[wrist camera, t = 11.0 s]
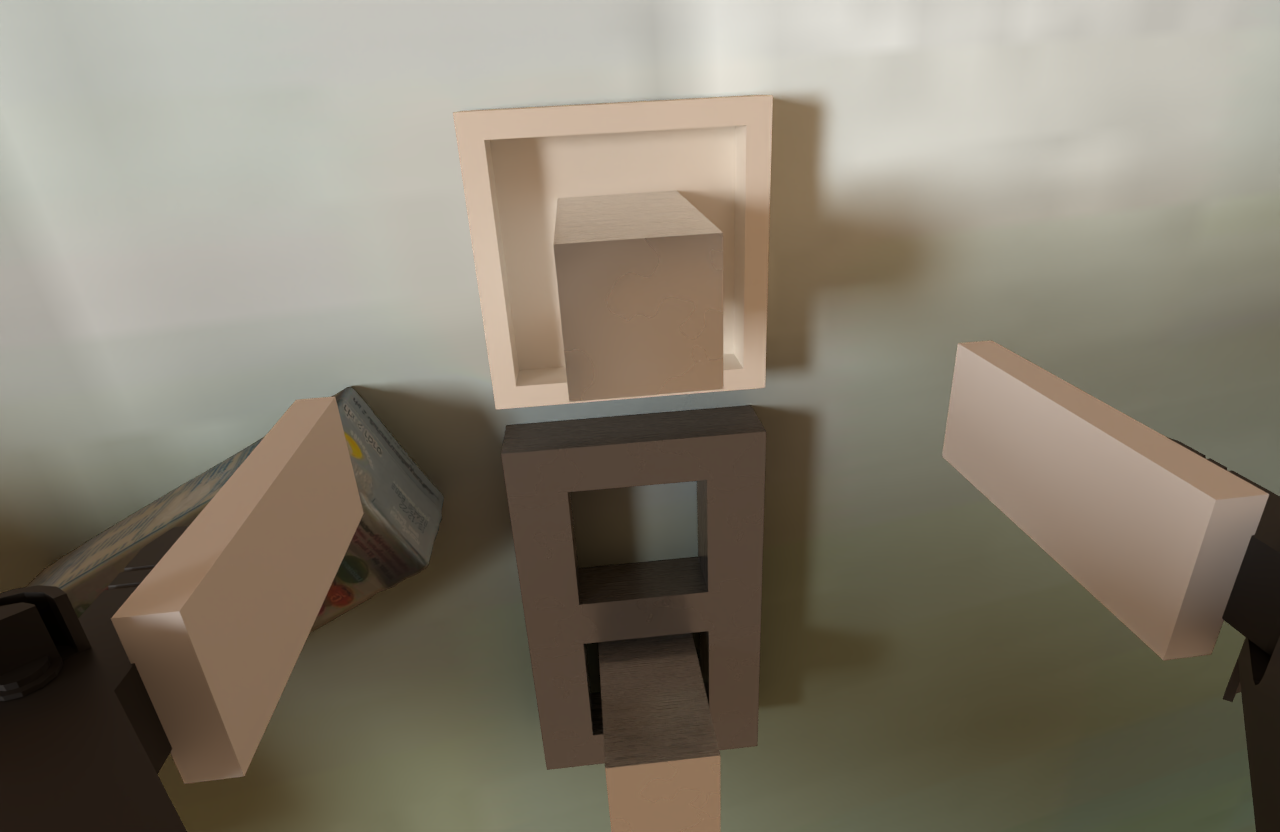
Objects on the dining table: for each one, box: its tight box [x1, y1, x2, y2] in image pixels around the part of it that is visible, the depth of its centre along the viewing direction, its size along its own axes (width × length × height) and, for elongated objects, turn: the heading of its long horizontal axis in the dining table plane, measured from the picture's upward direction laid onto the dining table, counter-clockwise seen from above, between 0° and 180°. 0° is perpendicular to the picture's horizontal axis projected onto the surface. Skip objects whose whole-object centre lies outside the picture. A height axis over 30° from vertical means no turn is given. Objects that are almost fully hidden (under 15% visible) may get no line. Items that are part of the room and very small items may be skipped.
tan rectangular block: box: [553, 190, 724, 402], centre depth 27 cm, size 5×5×10 cm
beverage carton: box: [27, 387, 444, 633], centre depth 33 cm, size 8×19×7 cm, turn 119°
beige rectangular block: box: [598, 633, 720, 832], centre depth 36 cm, size 5×5×10 cm
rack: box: [501, 405, 766, 770], centre depth 38 cm, size 12×20×3 cm, turn 3°
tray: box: [453, 95, 773, 409], centre depth 30 cm, size 12×12×3 cm
